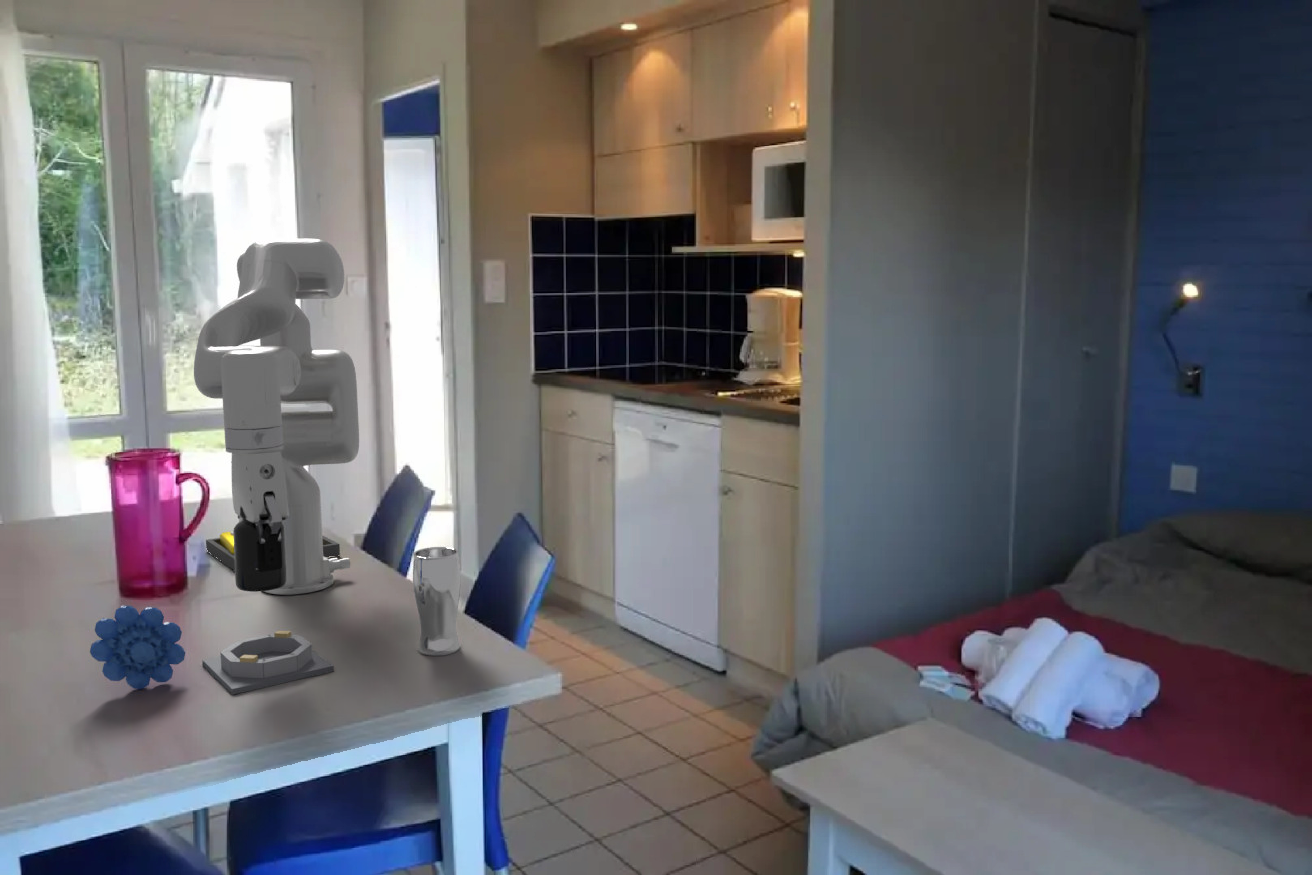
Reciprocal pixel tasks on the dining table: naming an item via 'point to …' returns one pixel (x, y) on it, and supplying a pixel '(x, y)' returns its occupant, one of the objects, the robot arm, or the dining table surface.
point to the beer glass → (437, 598)
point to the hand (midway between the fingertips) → (261, 563)
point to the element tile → (227, 541)
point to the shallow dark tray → (228, 558)
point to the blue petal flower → (137, 646)
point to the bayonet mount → (266, 662)
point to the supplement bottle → (254, 559)
